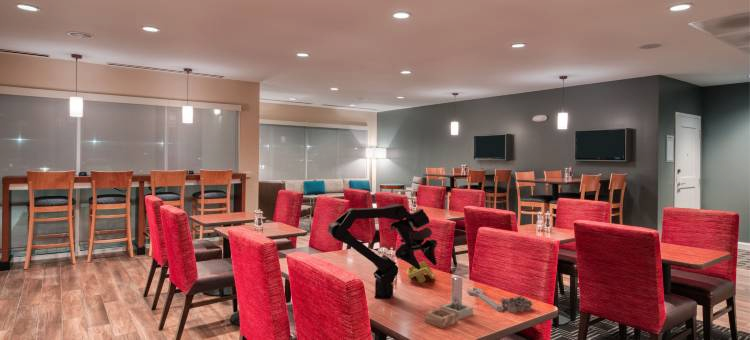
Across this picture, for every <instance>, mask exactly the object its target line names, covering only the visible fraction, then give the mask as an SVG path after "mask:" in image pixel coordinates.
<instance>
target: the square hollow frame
mask: <svg viewBox="0 0 750 340" xmlns="http://www.w3.org/2000/svg"><path fill="white" fill-rule="evenodd" d="M440 308H443V309H446V310H449V311H452V312H455V313H458V319H457V321H459V320H461V319H464V318H467V317H470V316H472V315H473V314H474V306H470V305H467V304H464V303H462V310H459V311H458V310H455V309H452V308H451V302H450V303H447V304H443V305H440Z"/></svg>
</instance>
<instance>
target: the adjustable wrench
mask: <svg viewBox="0 0 750 340" xmlns="http://www.w3.org/2000/svg"><path fill="white" fill-rule="evenodd" d="M466 289H467V291H466V292H467V293H466V294H468V296H474V297H477V298H478V299H480V300H481V301H483V302H484V304H485V303H486V305H488V306H489V307H491V308H492V309H493V310H495V311H496V312H500V313H502V312H504V311H505V309H504V308H503V307H502V306H501V305H500V304H498V303H497V302H495V301H494V300H492V299H491V298H489V297H488V296H487V295H485V294H484V293H483V289H481V288H479V287H472V289H470V288H466Z"/></svg>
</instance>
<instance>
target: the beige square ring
mask: <svg viewBox="0 0 750 340" xmlns="http://www.w3.org/2000/svg"><path fill="white" fill-rule="evenodd" d="M424 322H425V323H427V324H429V325H432V326H435V327H438V328H440V329H443V328H447V327H448V326H452V325H455V324H457V323H458V313H455V312H452V311H449V310H446V309H443V308H441V307H438V308H435V309H432V310H430V311H427V312H424Z"/></svg>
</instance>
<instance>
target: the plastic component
mask: <svg viewBox="0 0 750 340" xmlns="http://www.w3.org/2000/svg"><path fill="white" fill-rule="evenodd" d="M418 263H419V265H420V267H421V268H420V269H419V270H418V269H417V268H415V267H414V266H412V265H411V266H410V267H408V268H406V269H407V271H406V274H407V276H408V277H409V279H410V280H411V279H413V278H416V280H417V281H418V283H419V284H421V283H424V282H425V281H426V277H425V275H424V274H426V275H427V276H428V277H429V278H430V279H431V280H433V279H435V274H434V272H433V271H432V269H431V267H430V266H429V265H428V263H427V261H424V260H423V261H421V262H418Z"/></svg>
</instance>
